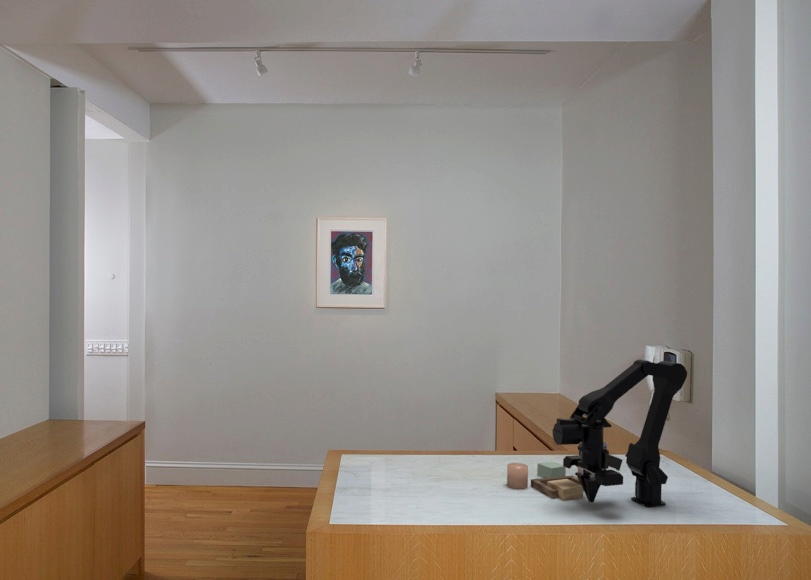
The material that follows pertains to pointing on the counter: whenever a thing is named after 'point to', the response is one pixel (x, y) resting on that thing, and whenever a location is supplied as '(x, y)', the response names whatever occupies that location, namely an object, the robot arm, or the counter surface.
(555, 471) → the matte sage squarish block
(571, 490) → the oak block
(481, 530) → the counter surface
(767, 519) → the counter surface
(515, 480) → the tan round cylinder
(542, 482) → the walnut bay
